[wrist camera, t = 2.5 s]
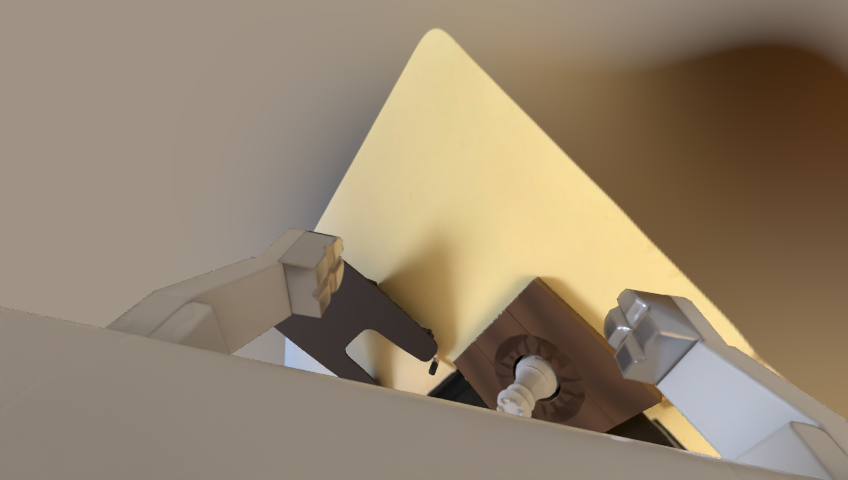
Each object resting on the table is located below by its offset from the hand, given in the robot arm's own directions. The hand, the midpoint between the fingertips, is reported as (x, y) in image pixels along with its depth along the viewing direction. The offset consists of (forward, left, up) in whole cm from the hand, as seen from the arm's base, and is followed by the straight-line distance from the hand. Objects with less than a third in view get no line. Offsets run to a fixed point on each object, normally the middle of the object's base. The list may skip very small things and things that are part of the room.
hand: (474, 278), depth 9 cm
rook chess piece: (+11, +14, -24) cm, 30 cm away
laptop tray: (+36, +7, -24) cm, 44 cm away
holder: (+11, +14, -24) cm, 30 cm away
